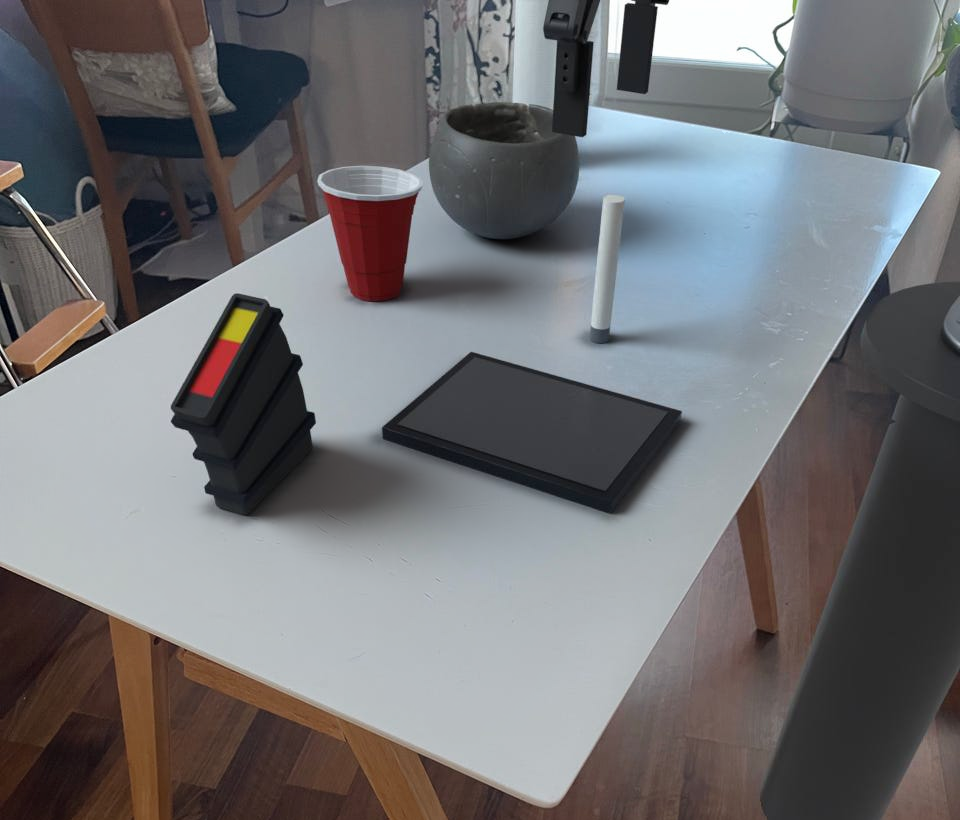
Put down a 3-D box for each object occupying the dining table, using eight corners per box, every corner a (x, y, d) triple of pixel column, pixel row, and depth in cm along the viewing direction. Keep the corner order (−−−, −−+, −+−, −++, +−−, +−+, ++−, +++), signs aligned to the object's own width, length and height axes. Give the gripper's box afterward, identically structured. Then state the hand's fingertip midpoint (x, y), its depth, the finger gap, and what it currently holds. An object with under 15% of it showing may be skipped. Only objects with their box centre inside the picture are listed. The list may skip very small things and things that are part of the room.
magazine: (334, 415, 85) (275, 297, 71) (271, 543, 81) (195, 444, 67) (297, 406, 86) (232, 288, 72) (233, 532, 82) (151, 432, 68)
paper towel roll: (508, 153, 140) (514, -24, 125) (550, 152, 140) (560, -23, 125) (513, 170, 135) (519, -12, 120) (556, 170, 135) (567, -12, 120)
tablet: (680, 422, 88) (682, 409, 87) (610, 513, 78) (612, 500, 77) (470, 362, 96) (470, 350, 95) (382, 438, 86) (381, 426, 85)
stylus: (611, 337, 100) (628, 197, 90) (604, 345, 99) (619, 203, 89) (594, 332, 100) (608, 193, 91) (586, 340, 99) (599, 199, 89)
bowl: (517, 193, 129) (521, 87, 120) (604, 238, 118) (615, 126, 109) (403, 221, 121) (398, 110, 112) (484, 272, 111) (486, 154, 102)
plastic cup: (445, 284, 108) (443, 171, 100) (388, 320, 102) (381, 203, 93) (367, 261, 112) (360, 151, 104) (308, 295, 106) (294, 180, 97)
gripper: (646, -233, 76) (617, 70, 91) (501, -218, 60) (495, 146, 75) (738, -230, 74) (693, 81, 89) (612, -213, 58) (583, 162, 73)
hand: (602, 111), depth 82 cm, fingers open, 13 cm apart
